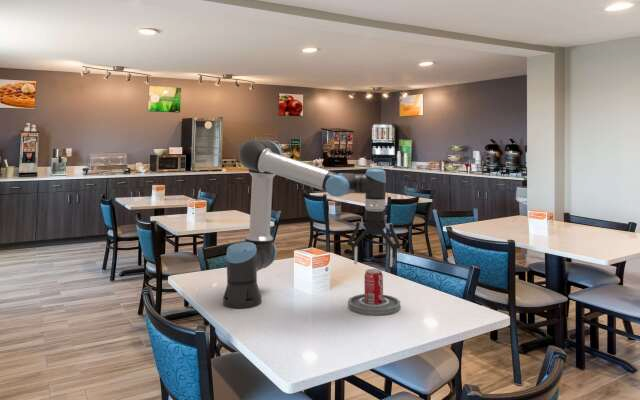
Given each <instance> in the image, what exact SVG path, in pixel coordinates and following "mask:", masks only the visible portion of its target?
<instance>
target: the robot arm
mask: <svg viewBox="0 0 640 400" xmlns="http://www.w3.org/2000/svg"><path fill="white" fill-rule="evenodd" d="M238 159H239V162H240V163H241V165H242V166H243V167H244V168H246V169H248V174H250V176H251V191H250V192H251V194H250V196H251V197H250V210H249V211H250V215H249V232H248V234H247V235H245V239H244V240H245V241H239V242H236V243H233V244H230V245H229V246H228V247H227V249H226V255H225V259H226V280H227V281H226V282H227V283H226V288H225V290H224V294H223V299H222V305H223V306H225V307H227V306H228V308H230V307H232V308H231V309H248V307H249V308H253V307H257V306H258V305H260V304H262V294H261V290H260V287H259V286H258V271H260V270H263V269H266V268H268V267H269V266H270V265H271V264H273V263H274V262H275V260H276V257H277V247H276V245H275V244H274V237H273V236H272V234H271V217H272V201H273V200H272V199H273V182H274V181H273V180H274V177H275V176H279V177H283V178H285V179H288V180H291V181H294V182H296V183H300V184H303V185H304V186H305V185H306V186H310V187H311V188H315V189H317V190H320V191H324V192H327V194H329V195H330V196H332V197H337V198H338V197H343V196H345V195H351V194H360V195H362V194H363V195H364V194H365V197H364V198H365V201H364V202H365V203H364V206H365V207H364V209H365V210H364V222H362V221H358V220H357V222H356V223H355V229H354V230H353V232H352V234H351V236H350V238H349V240H348V241H347V246H350V247H351V255H352V256H354V261H353V262H354V263H353V264H354V265H357V264H358V248H359V247H358V246H357V245H358V244H359V243H360V242H361V241H362V240H363V238H364V237H365V236H367V234H369V235H381V236H382V238H383V239H384V240H385V242H387V244H388V245H389V246H390V253H389V254H390V256H389V267H391V268H392V267H393V259H396V255H397V253H396V252H397V249H401V247H402V246H401V245H402V244H401V242H400V240H399V238H398V236H397V233H396V232H395V229H394V224H393V223H392V222H390V223H386V221H385V219H386V216H385V215H386V211H385V209H386V192H387V191H386V190H387V189H386V188H387V172H386V171H385V169H380V168H377V169H376V168H369V169H366V171H365V173H348V172H342V173H341V172H338V173H337V172H333V171H331V170H327V169H324V168H322V167H318V166H315V165H313V164H310V163H306V162H303V161H300V160H298V159H297V160H296V159H293V158H291V157H287V156H284V155H283V153H282V149H281V147H280V146H279V145H278V144H277V143H275V142H274V141H272V140H271V141H270V140H267V139H266V140H262V139H260V140H258V139H249V140H247V141H245V142H244V143H242V144H241V146H240V147H239V150H238ZM362 227H363V228H364V229H365V230H364V231H363V232H362V233H361V234H360V235H359V236H358V237H357V239H355V240H354V238H355V237H356V234H357V233H358V232H359V229H361V228H362ZM384 229H388V230H389V232H390V234H391V237H392V239H393V240H394V242H393V241H392V240H391V238H390V236H388V234H387V233H386V232H385V230H384ZM353 240H354V242H353Z"/></svg>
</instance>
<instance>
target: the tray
mask: <svg viewBox="0 0 640 400" xmlns="http://www.w3.org/2000/svg"><path fill="white" fill-rule="evenodd" d="M347 307H348V309H349V310H350V311H351V312H353V313H356V314H359V315H364V316H377V317H378V316H379V317H380V316H388V315H393V314H396V313H398V312H400V310H401V300H399V299H398V298H397V297H394V296H391V295H388V294H383V303H382V304H380V305H370V304H366V303H365V293H361V294H357V295H353V296H351V297H349V299H348V301H347Z"/></svg>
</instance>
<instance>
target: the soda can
mask: <svg viewBox="0 0 640 400" xmlns="http://www.w3.org/2000/svg"><path fill="white" fill-rule="evenodd" d="M364 294H365V303H366V304H370V305H380V304H382V303H383V295H384V274H383V271H382V270H381V269H378V268H370V269H366V270H365V273H364Z"/></svg>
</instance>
